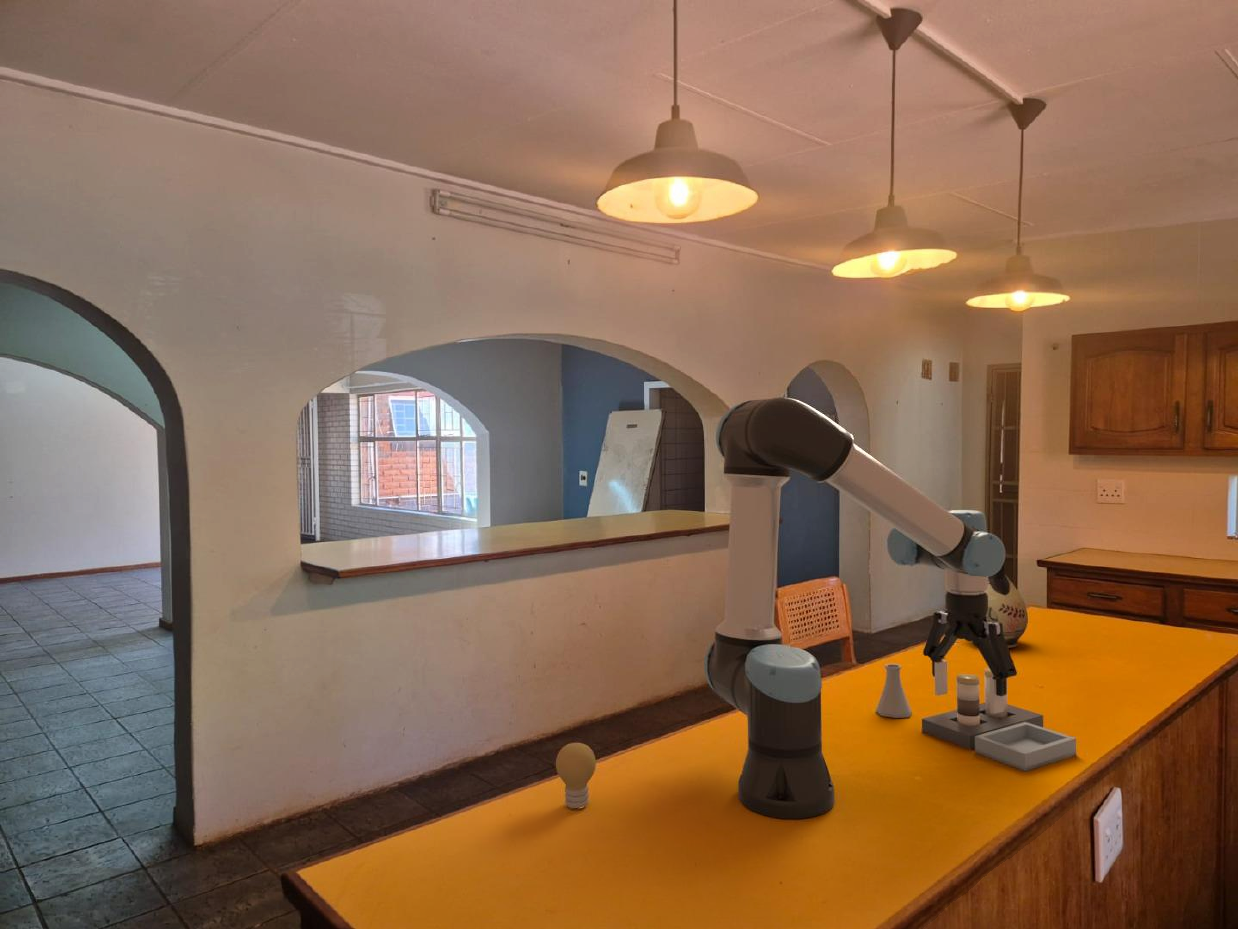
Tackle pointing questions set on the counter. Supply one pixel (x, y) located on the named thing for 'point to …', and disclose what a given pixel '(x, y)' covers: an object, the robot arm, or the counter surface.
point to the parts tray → (1025, 746)
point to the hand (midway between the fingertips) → (968, 703)
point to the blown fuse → (968, 700)
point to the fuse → (987, 698)
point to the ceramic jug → (1006, 607)
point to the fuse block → (965, 735)
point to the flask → (893, 695)
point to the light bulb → (576, 772)
